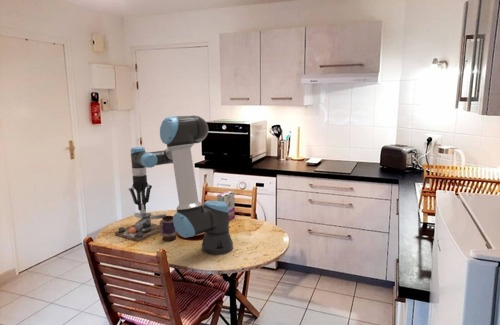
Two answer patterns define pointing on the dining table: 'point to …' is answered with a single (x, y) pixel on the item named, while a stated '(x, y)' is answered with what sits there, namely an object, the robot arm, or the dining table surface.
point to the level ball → (132, 230)
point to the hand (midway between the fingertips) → (142, 215)
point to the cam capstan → (145, 221)
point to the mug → (167, 228)
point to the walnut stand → (138, 233)
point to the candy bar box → (228, 202)
